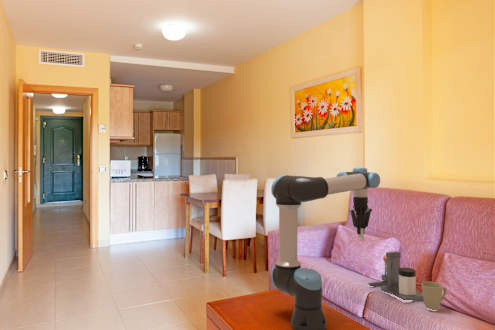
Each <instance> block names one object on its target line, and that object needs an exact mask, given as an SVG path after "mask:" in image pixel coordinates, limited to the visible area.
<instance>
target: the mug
mask: <svg viewBox="0 0 495 330" xmlns="http://www.w3.org/2000/svg"><path fill="white" fill-rule="evenodd" d="M421 293H422V296H423V300H424V301H423V303H424V306H425V308H426V307H427V308H429V309H432V310H438V311H439V309H440V305H441V302H442V301H443V300H444V299H445V297H446V295H447V288H446V287H445V286H444V285H443V284H442V283H439V282H436V281H422V282H421Z"/></svg>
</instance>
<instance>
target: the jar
mask: <svg viewBox="0 0 495 330" xmlns="http://www.w3.org/2000/svg"><path fill="white" fill-rule="evenodd" d="M416 273H417V272H416V270H415V269H414V268H410V267H400V268H399V269H398V274H399V293H400V294H403V295H407V296H410V295H416V290H417V287H416V284H417V283H416V281H417V280H416V278H417V277H416Z"/></svg>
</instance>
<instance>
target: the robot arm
mask: <svg viewBox="0 0 495 330" xmlns="http://www.w3.org/2000/svg"><path fill="white" fill-rule="evenodd" d="M380 184H381V176H380V175H379V174H378V172H372V171H371V172H369V171H368V168H366V167H353V169H352V171H341V172H338V173H337V174H336V176H332V177H325V178H324V177H323V176H317V177H316V176H315V177H313V176H303V175H288V174H285V175H280V176H278V177H277V178H276V179H275V180H274V181H273V182H272V184H271V188H270V189H271V195H272V196H273V198H274V199H275V205H276V206H277V208H278V212H279V213H278V225H279V226H278V259H277V260H276V261H275V265H274V266H273V268H272V269H271V270H270V271H271V272H270V281H271V284H272V286H273V287H274V288H276V289H277V290H279V292H282V293H283V292H284V293H285V294H288V295H289V296H291V297H294V308H293V311H292V315H291V319H290V326H291V327H292V329H294V330H326V329H327V319H326V317H325V314H324V311H323V281H322V275H321V273H319V272H318V271H317V270H315V269H312V268H307V267H302V266H301V265H302V264H301V262H300V261H299V260H298V234H299V233H298V230H299V229H298V223H299V220H298V219H299V218H298V217H299V215H298V213H299V210H298V209H299V208H300V207H301V205H302V203H306V202H312V201H316V200H320V199H321V200H322V199H325V198H326V197H327V196H329V195H335V194H339V193H340V194H341V193H344V192H345V193H346V192H352V191H353V192H352V193H353V194H352V195H353V197H352V200H353V207H352V208H351V209H349V210H348V211H349V213H350V216H351V219H352V220H351V221H352V225H353V227H355V228H356V234H357V235H358V236H357V238H358V239H357V240H358V241H361V242H363V241H365V240H364V235H365V232H366V230H365V229H367V227H368V226H369V222H370V217H371V213H372V211H373V209H372V208H370V207H369V206H368V204H369V197H368V196H369V189H375V188H378V187H379V186H380Z"/></svg>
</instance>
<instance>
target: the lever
mask: <svg viewBox="0 0 495 330" xmlns="http://www.w3.org/2000/svg"><path fill="white" fill-rule="evenodd" d="M382 260H383V261H384V274H381V280H382V281H385V282H387V258H386V254H385V255H384V256H383V257H382Z"/></svg>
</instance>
